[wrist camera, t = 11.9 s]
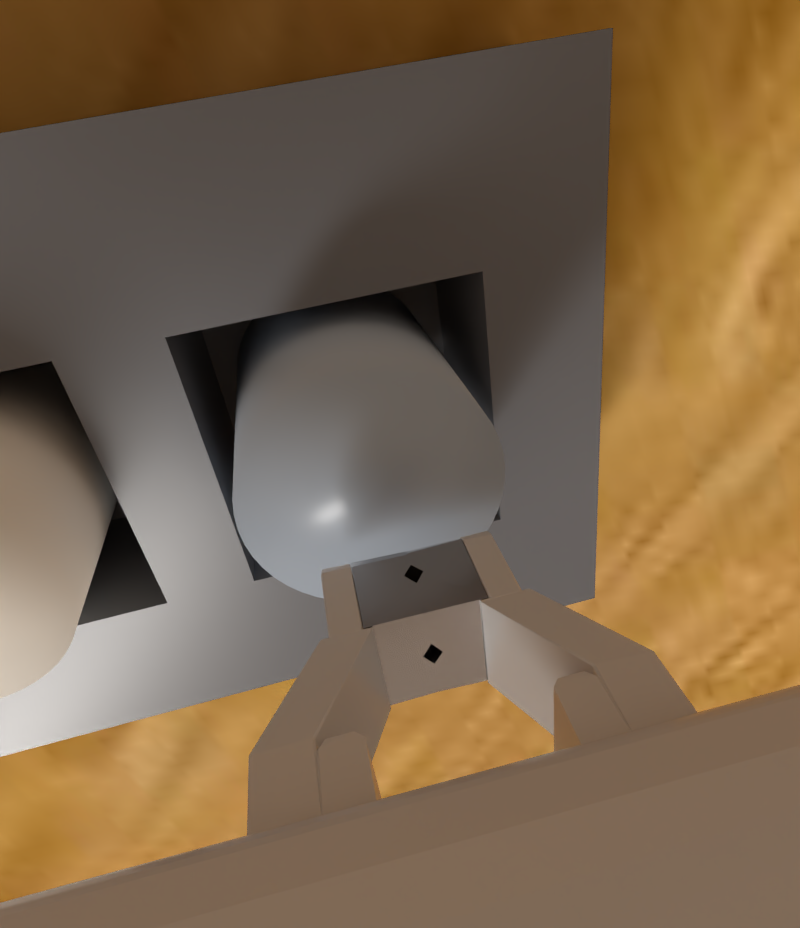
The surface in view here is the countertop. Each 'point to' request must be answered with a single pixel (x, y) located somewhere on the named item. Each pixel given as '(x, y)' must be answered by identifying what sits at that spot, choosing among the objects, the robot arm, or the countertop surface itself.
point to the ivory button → (45, 522)
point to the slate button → (355, 441)
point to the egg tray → (288, 289)
